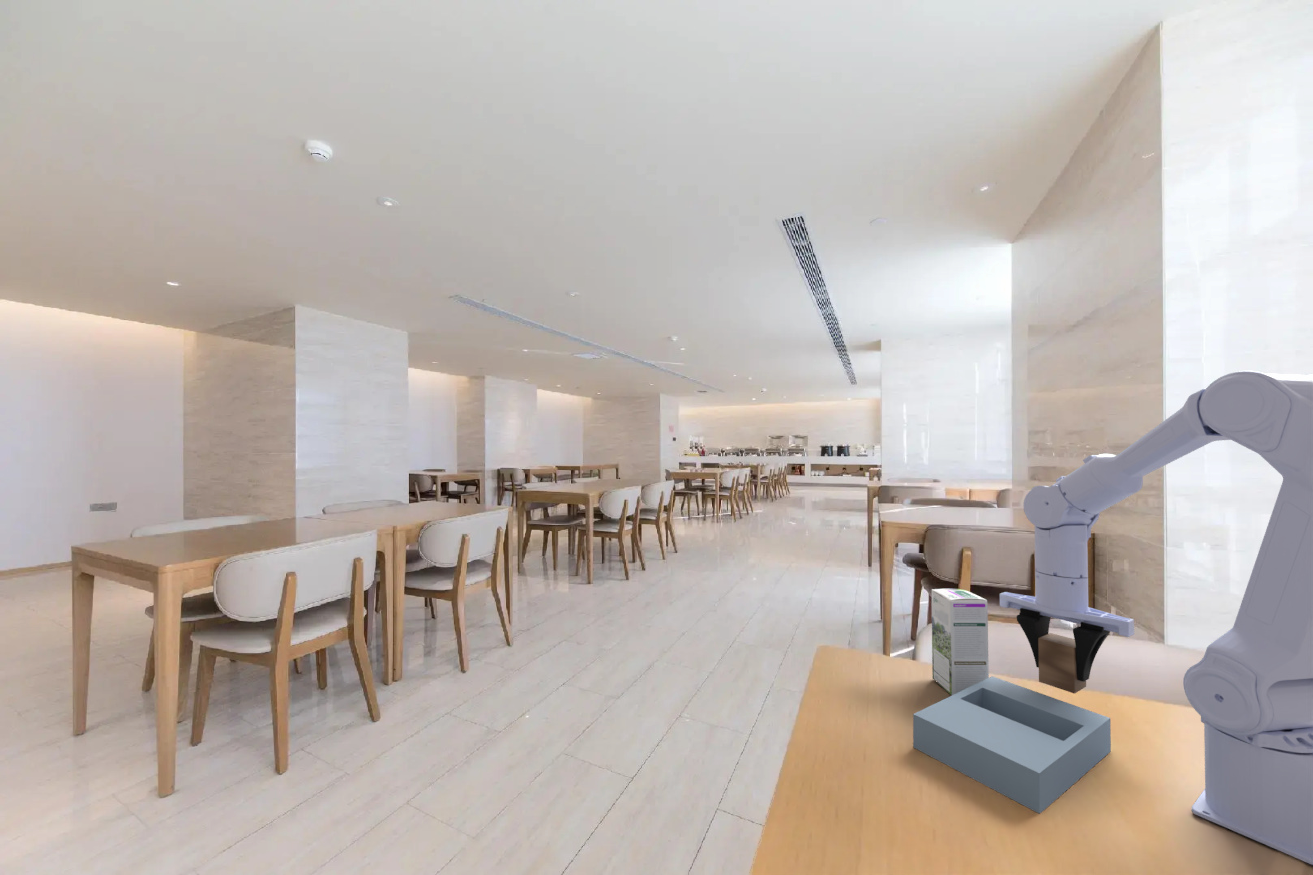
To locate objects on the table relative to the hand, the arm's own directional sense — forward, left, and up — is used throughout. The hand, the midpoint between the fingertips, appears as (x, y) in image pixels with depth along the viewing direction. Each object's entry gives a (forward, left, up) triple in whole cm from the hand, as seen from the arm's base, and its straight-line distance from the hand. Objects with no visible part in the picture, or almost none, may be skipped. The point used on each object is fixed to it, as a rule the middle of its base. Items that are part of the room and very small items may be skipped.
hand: (1062, 672), depth 69 cm
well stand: (0, +15, -6) cm, 16 cm away
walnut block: (0, 0, -2) cm, 2 cm away
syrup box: (+12, +4, -6) cm, 14 cm away
